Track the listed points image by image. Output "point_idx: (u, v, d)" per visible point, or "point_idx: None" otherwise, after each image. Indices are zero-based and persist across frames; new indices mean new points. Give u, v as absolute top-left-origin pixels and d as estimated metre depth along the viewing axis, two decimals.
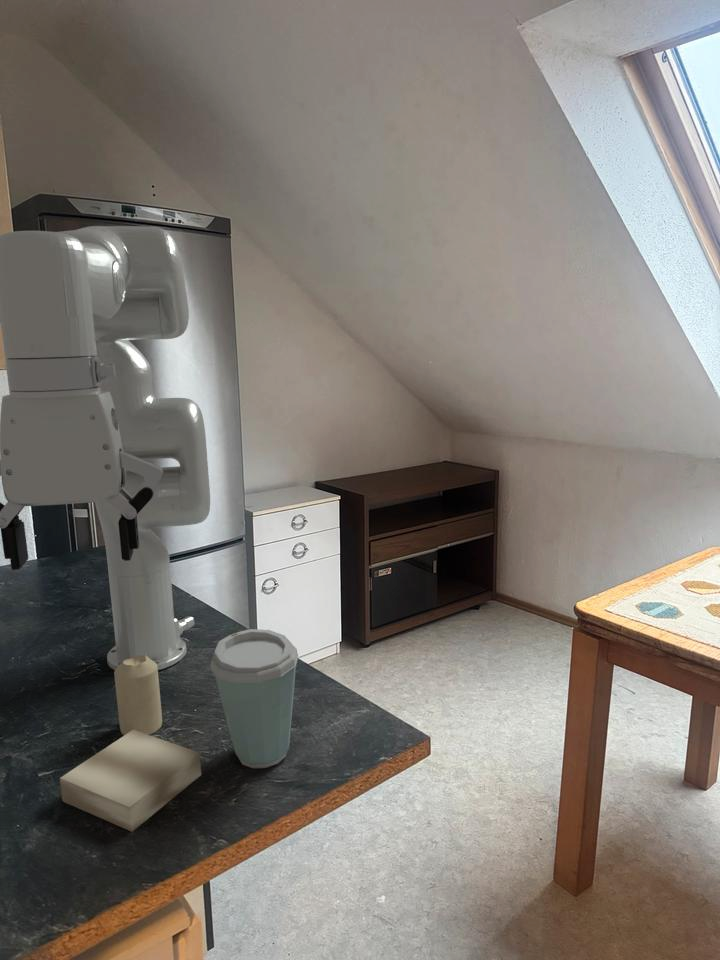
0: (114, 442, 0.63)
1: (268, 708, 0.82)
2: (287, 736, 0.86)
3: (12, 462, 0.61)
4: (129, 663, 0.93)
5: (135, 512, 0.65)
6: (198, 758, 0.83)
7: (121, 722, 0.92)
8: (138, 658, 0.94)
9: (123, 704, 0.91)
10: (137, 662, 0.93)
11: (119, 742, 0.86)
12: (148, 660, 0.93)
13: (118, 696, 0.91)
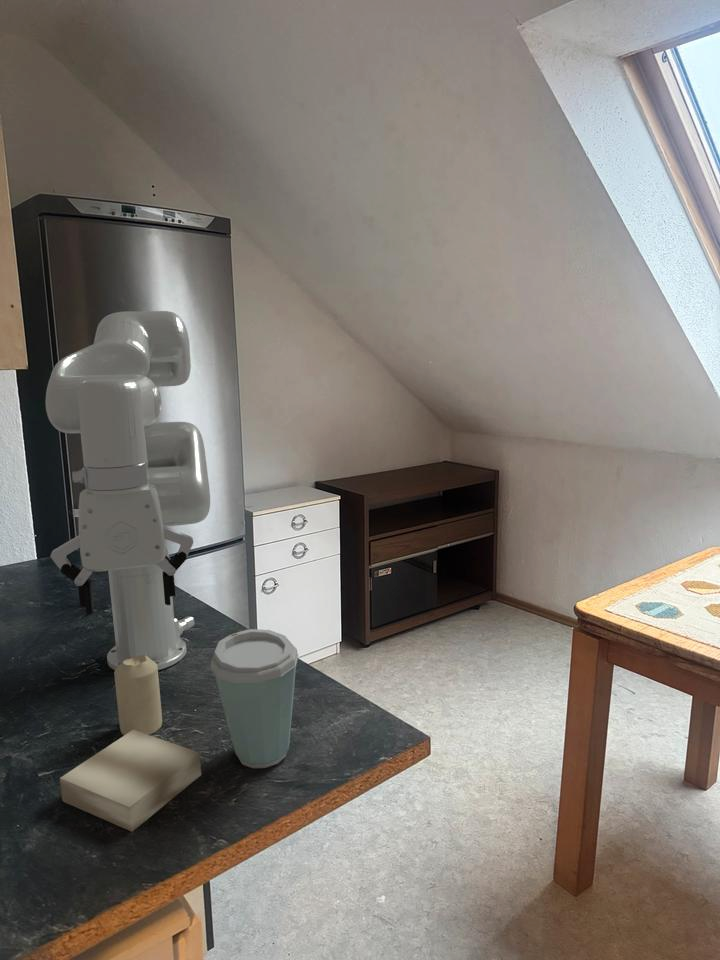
0: None
1: (268, 708, 0.82)
2: (287, 736, 0.86)
3: None
4: (129, 663, 0.93)
5: None
6: (198, 758, 0.83)
7: (121, 722, 0.92)
8: (138, 658, 0.94)
9: (123, 704, 0.91)
10: (137, 662, 0.93)
11: (119, 742, 0.86)
12: (148, 660, 0.93)
13: (118, 696, 0.91)
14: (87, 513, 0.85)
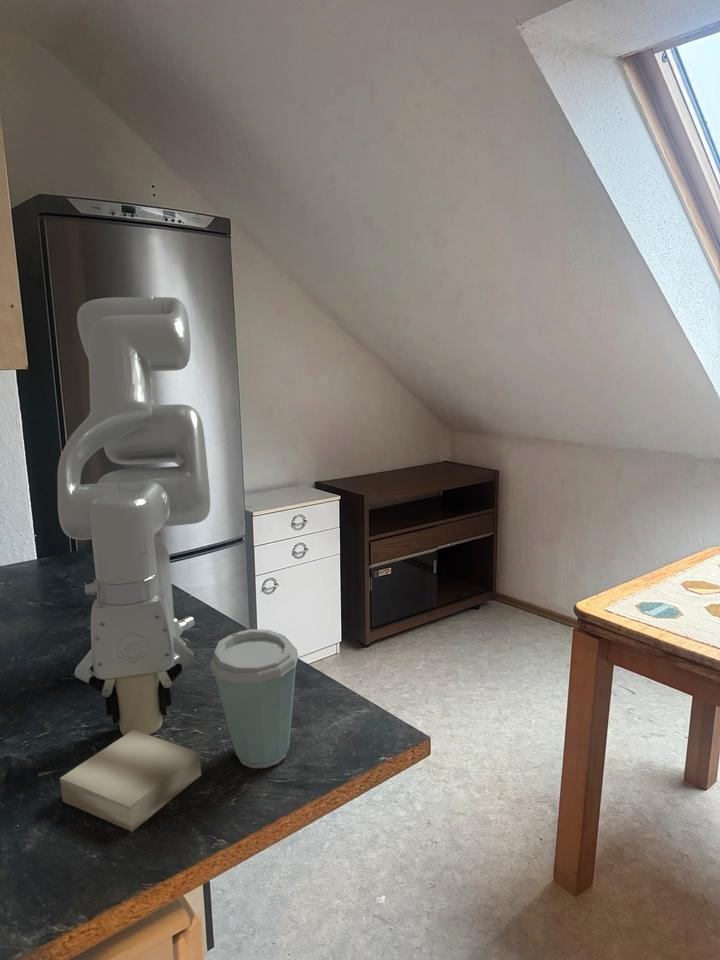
0: None
1: (268, 708, 0.82)
2: (287, 736, 0.86)
3: None
4: None
5: None
6: (198, 758, 0.83)
7: (121, 722, 0.92)
8: None
9: (123, 703, 0.91)
10: None
11: (119, 742, 0.86)
12: None
13: (118, 696, 0.91)
14: (99, 626, 0.88)
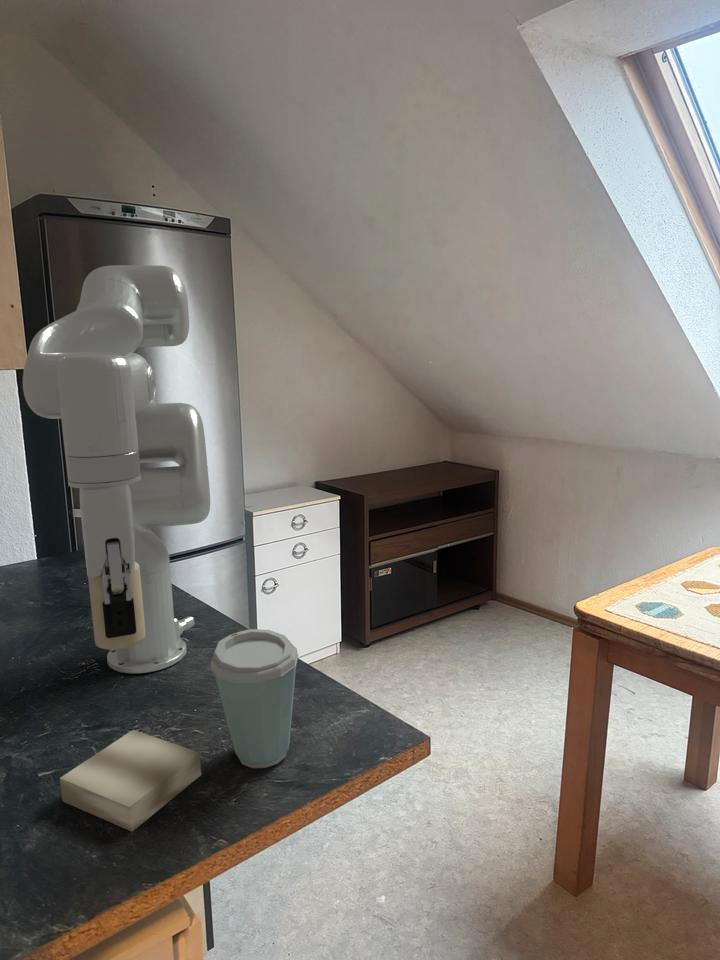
0: None
1: (268, 708, 0.82)
2: (287, 736, 0.86)
3: (133, 537, 0.75)
4: None
5: None
6: (198, 758, 0.83)
7: None
8: None
9: None
10: None
11: (119, 742, 0.86)
12: None
13: None
14: None
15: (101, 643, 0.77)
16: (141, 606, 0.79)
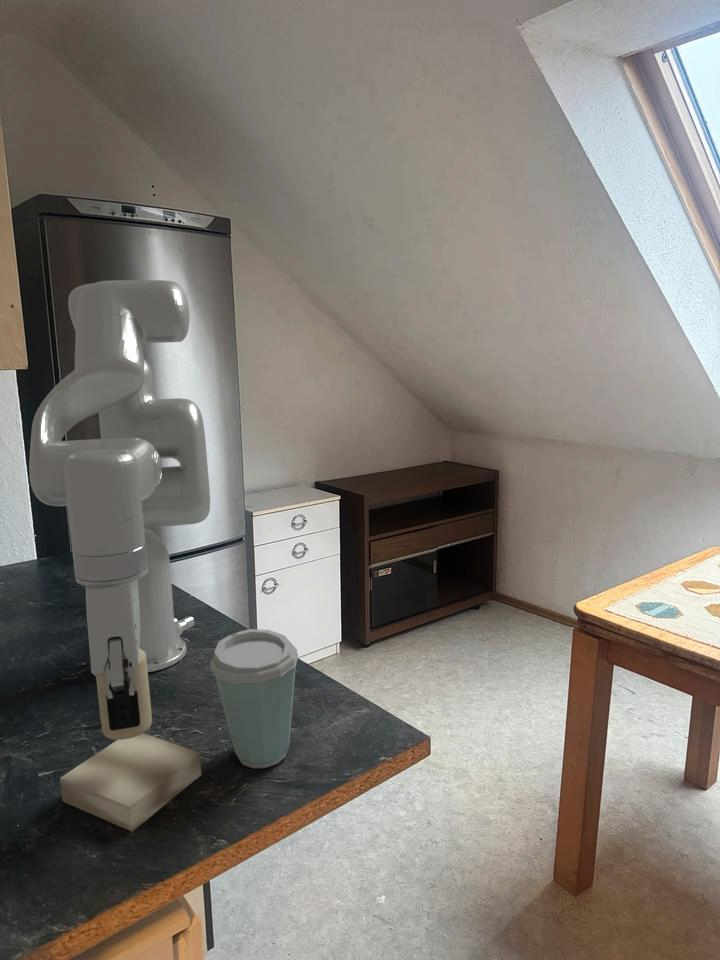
0: None
1: (268, 708, 0.82)
2: (287, 736, 0.86)
3: (137, 633, 0.74)
4: None
5: None
6: (198, 758, 0.83)
7: None
8: None
9: None
10: None
11: (119, 742, 0.86)
12: None
13: None
14: None
15: (106, 733, 0.78)
16: (147, 696, 0.79)
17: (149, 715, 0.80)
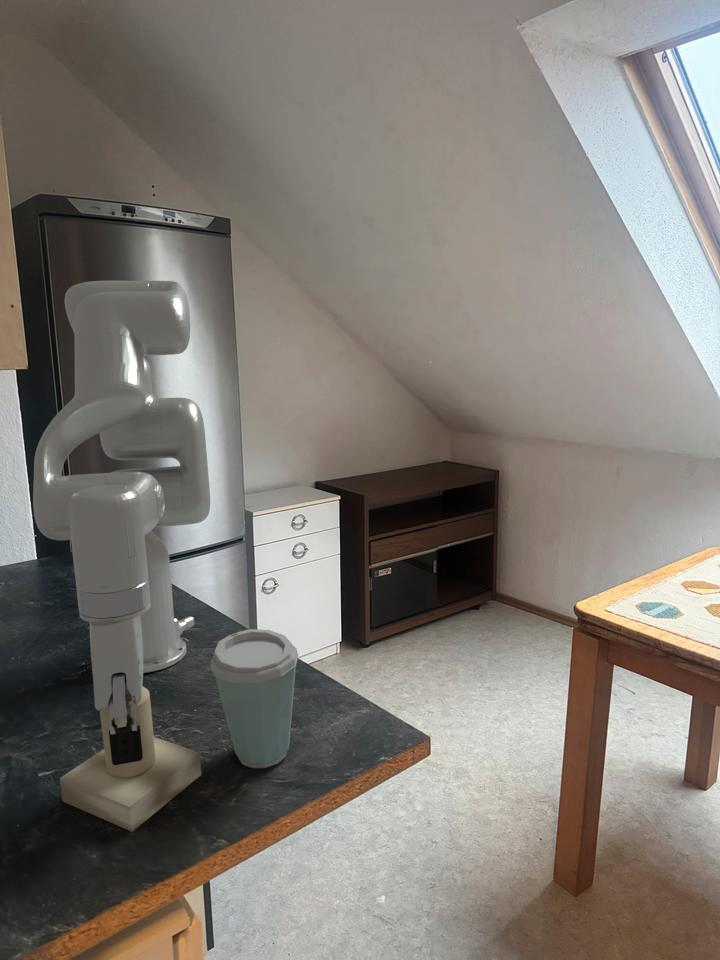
0: None
1: (268, 708, 0.82)
2: (287, 736, 0.86)
3: (140, 668, 0.75)
4: None
5: None
6: (198, 758, 0.83)
7: None
8: None
9: None
10: None
11: None
12: None
13: None
14: None
15: (111, 771, 0.79)
16: (150, 734, 0.80)
17: (153, 753, 0.81)
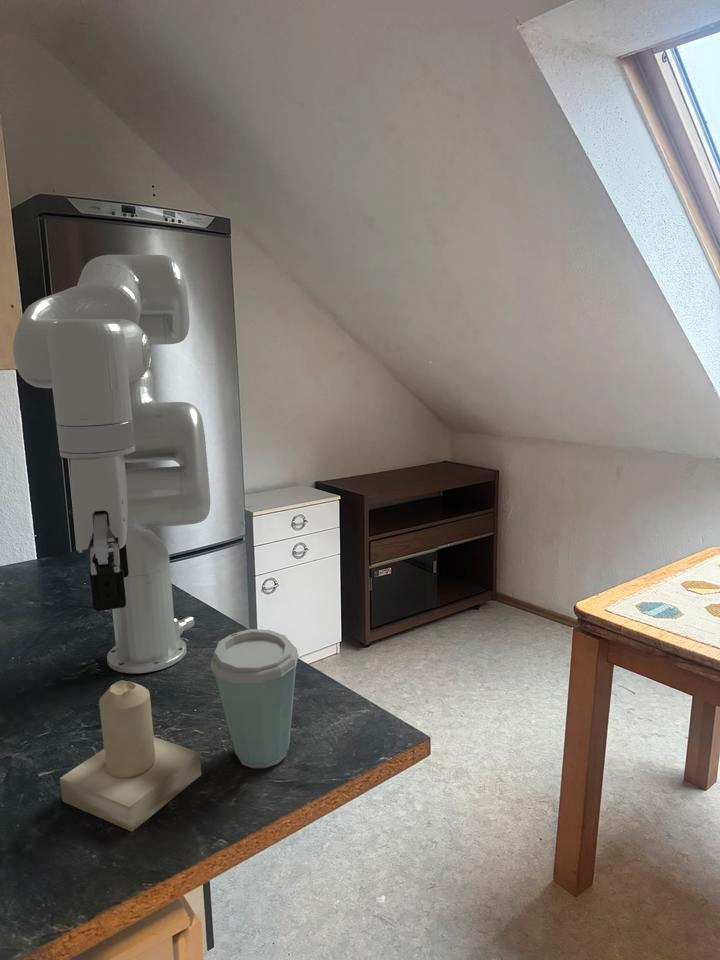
0: None
1: (268, 708, 0.82)
2: (287, 736, 0.86)
3: (123, 510, 0.72)
4: (128, 687, 0.80)
5: None
6: (198, 758, 0.83)
7: None
8: None
9: None
10: None
11: None
12: (123, 696, 0.78)
13: None
14: None
15: (111, 771, 0.79)
16: (150, 734, 0.80)
17: (153, 753, 0.81)
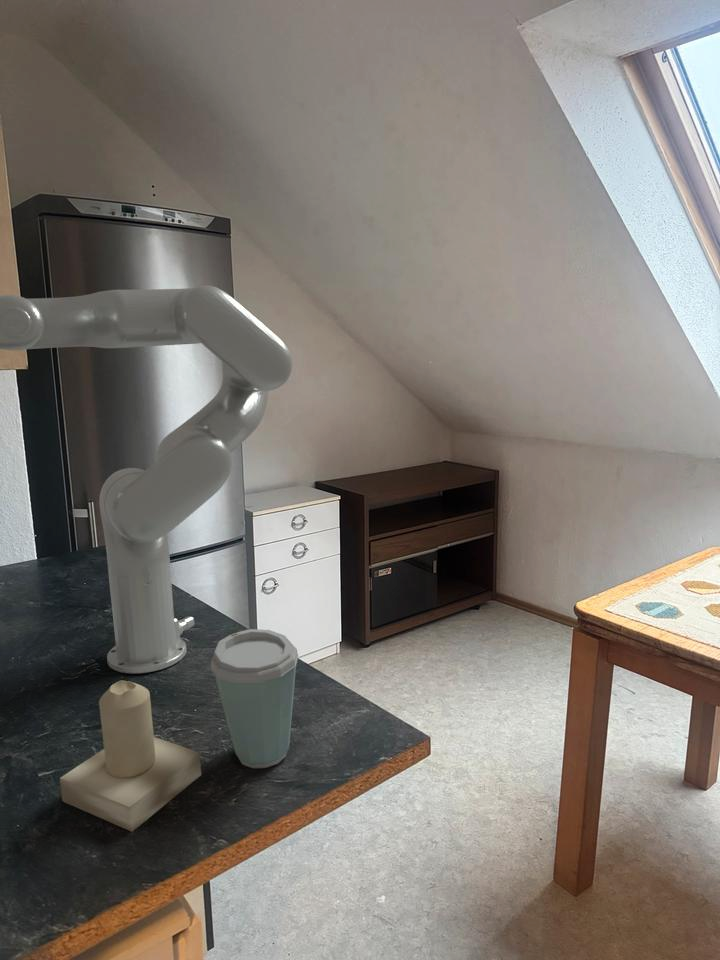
0: None
1: (268, 708, 0.82)
2: (287, 736, 0.86)
3: None
4: (128, 687, 0.80)
5: None
6: (198, 758, 0.83)
7: None
8: None
9: None
10: None
11: None
12: (123, 696, 0.78)
13: None
14: None
15: (111, 771, 0.79)
16: (150, 734, 0.80)
17: (153, 753, 0.81)
